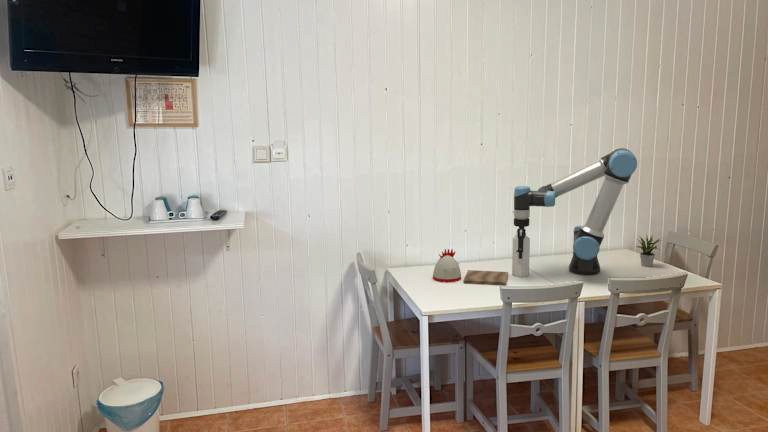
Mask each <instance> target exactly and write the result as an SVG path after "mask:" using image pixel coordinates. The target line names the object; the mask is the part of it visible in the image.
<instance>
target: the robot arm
mask: <svg viewBox="0 0 768 432" xmlns="http://www.w3.org/2000/svg"><path fill="white" fill-rule="evenodd" d="M637 167H638V160H637V157H636V155H635V154H634V153H633V152H632V151H630V150H629V149H627V148H625V147H623V148H616V149H615V150H613V151H611V152H610V153H608V154H607V155H604V156H602V157H600V158H599V160H598V161H596V162H594V163H591V164H590V165H587V166H585V167H583V168H581V169H578V170H576V171H575V172H573V173H570V174H569V175H568V174H567V175H566V176H563V177H562V178H559V179H557V180H555V181H553V182H551V183H549V184H546V185H542V186H541V187H539V188H538V189H537V190H531V187H530V186H529V185H518V186H515V187H514V192H513V193H514V194H513V211H512V213H513V226H514V227H518V228H517V231H516V234H517V233H518V251H516V252H518V265H523V253H524V252H523V242H524V239H525V233H527V232H526V231H527V229H526V227H529V226H530V216H531V215H530V214H531V213H530V212H531V210H530V207H542V208H543V207H545V208H549V207H550V208H551V207H555V206H556V198H558V197H561V196H563V195H565V194H567V193H569V192H572V191H574V190H576V189H578V188H580V187H582V186H585V185H587V184H589V183H591V182H593V181H596V180H599V179H600V178H601V179H602V177H604V179H603V182H602V184H601V187H600V189H599V192H598V194H597V196H596V198H595V200H594V204H593V205H592V208H591V210H590V213H589V214H588V217H587V220H586V222H585V224H584V225H577V226H574V227H573V231H572V232H573V242H572V243H573V244H572V258H571V259H570V262H569V265H568V271H569V272H570V273H571V274H575V275H581V276H593V275H595V276H596V275H599V274H600V273H601V264H600V262H599V258H598V255H599V253H600V247H601V245H602V243H603V240H604V238H605V235H604V230H605V227H606V225H607V223H608V221H609V218H610V216H611V214H612V212H613V209H614V207H615V205H616V203H617V201H618V198H619V197H620V194H621V192H622V189H623V187H624V185H627V184H628V183H630V180H631V178H632V175H633V174H634V172H635V171H636V169H637ZM523 236H524V237H523Z"/></svg>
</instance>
